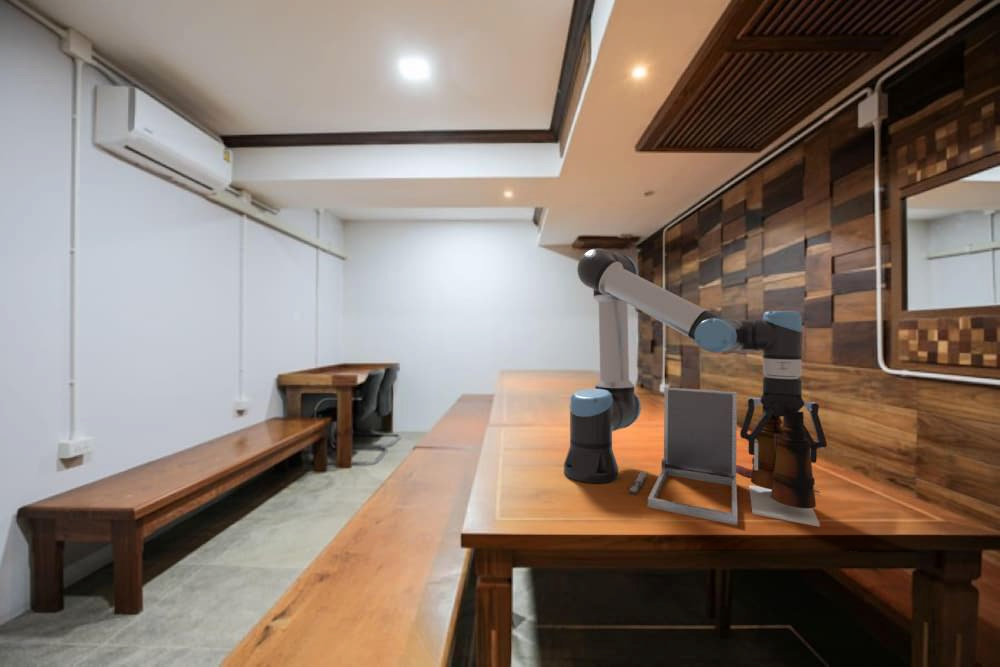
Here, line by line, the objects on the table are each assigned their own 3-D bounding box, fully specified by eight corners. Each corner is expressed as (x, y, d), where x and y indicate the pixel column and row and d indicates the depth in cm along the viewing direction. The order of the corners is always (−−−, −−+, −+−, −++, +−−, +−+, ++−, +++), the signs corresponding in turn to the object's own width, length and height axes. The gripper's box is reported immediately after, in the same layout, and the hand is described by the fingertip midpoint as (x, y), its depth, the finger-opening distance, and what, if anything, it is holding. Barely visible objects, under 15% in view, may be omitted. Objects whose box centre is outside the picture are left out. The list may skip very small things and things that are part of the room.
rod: (629, 494, 103) (629, 487, 103) (640, 477, 116) (640, 471, 116) (636, 496, 103) (636, 488, 103) (646, 478, 115) (646, 472, 115)
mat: (752, 513, 92) (752, 511, 92) (749, 487, 108) (749, 485, 108) (819, 526, 86) (819, 523, 86) (805, 496, 102) (806, 494, 102)
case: (646, 506, 96) (647, 401, 95) (663, 472, 119) (663, 387, 119) (737, 525, 87) (738, 409, 87) (736, 483, 110) (737, 392, 110)
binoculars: (744, 476, 107) (745, 399, 107) (779, 478, 106) (780, 400, 105) (782, 507, 89) (783, 414, 88) (825, 509, 87) (826, 415, 87)
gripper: (728, 375, 99) (727, 468, 99) (846, 381, 88) (844, 486, 88) (728, 372, 106) (727, 460, 106) (838, 378, 95) (837, 475, 95)
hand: (781, 472), depth 97 cm, fingers closed on binoculars, 9 cm apart
